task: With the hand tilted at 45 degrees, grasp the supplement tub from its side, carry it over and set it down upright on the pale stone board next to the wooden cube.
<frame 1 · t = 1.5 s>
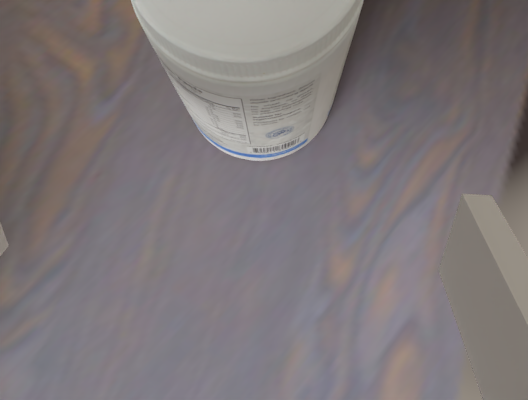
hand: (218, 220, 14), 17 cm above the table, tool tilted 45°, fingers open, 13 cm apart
supplement tub: (260, 97, 32), on the table
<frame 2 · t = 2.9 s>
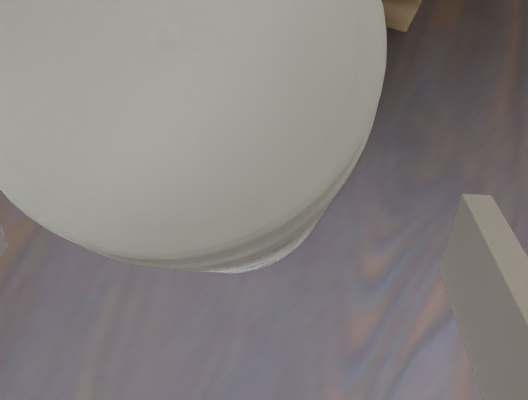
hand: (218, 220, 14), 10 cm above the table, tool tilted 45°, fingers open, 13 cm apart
supplement tub: (232, 181, 25), on the table
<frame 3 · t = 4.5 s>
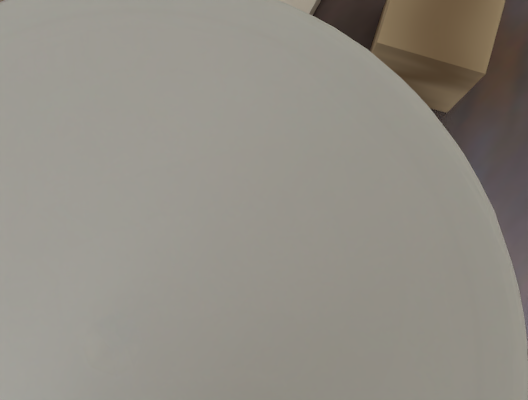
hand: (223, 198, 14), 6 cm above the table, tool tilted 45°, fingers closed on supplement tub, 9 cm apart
wooden cube: (413, 60, 22), on the table
supplement tub: (234, 299, 20), on the table, touching gripper
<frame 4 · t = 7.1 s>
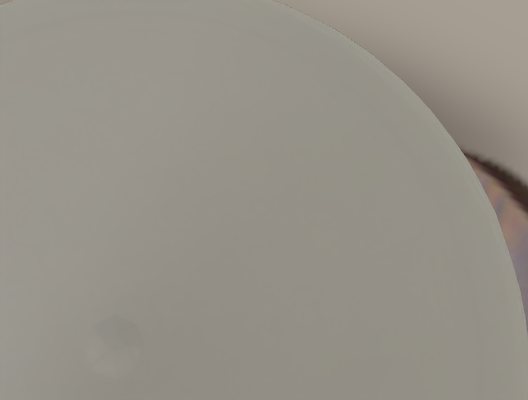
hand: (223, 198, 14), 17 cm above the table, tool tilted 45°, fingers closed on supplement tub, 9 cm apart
supplement tub: (234, 300, 20), point 11 cm above the table, touching gripper
when the fingers open (8 cm above the table, at t = 9.6 s): supplement tub drops 1 cm, resting on stone board.
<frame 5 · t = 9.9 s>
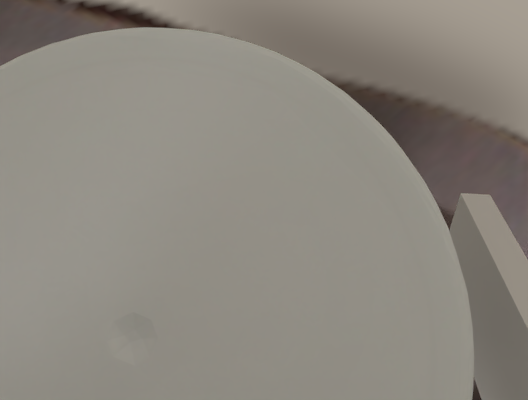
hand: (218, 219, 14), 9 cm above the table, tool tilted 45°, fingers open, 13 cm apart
supplement tub: (233, 299, 21), point 1 cm above the table, touching stone board
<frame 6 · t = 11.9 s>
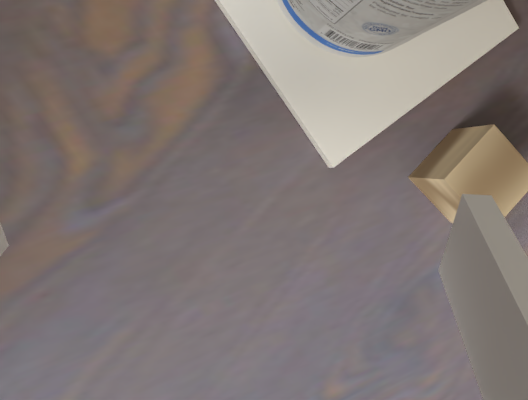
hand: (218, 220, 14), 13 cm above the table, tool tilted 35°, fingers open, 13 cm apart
wooden cube: (450, 176, 29), on the table
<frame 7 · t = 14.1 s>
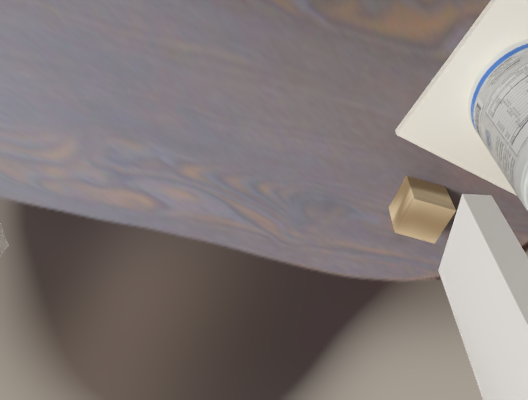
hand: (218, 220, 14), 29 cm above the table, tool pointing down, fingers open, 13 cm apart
wooden cube: (416, 197, 47), on the table
supplement tub: (524, 90, 40), point 1 cm above the table, touching stone board
stone board: (521, 89, 40), on the table
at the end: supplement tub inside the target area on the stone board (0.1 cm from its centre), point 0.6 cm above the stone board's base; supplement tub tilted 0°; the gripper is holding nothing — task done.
